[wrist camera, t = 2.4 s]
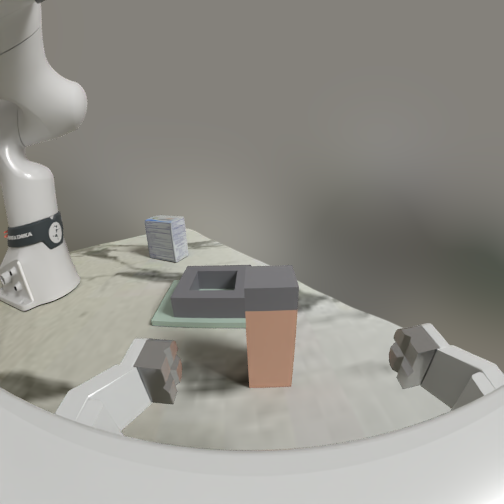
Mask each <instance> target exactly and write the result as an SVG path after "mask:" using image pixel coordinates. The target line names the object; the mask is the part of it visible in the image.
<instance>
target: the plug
mask: <svg viewBox="0 0 504 504" xmlns="http://www.w3.org/2000/svg"><path fill="white" fill-rule="evenodd" d="M298 291H299V286H298V283H297V280H296V276H295V273H294V270H293V267H292V265H287V266H246V270H245V283H244V298H245V318H246V337H247V355H248V373H249V388H264V387H288V386H291V383H292V373H293V362H294V350H295V338H296V324H297V309H298Z"/></svg>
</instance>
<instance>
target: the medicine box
mask: <svg viewBox="0 0 504 504" xmlns="http://www.w3.org/2000/svg"><path fill="white" fill-rule="evenodd" d="M145 228H146V235H147V241H148V248H149V253H150V257H151V258H156V259H161V260H166V261H172V262H178V261H180V260H182V259H183V258H185V257H187V256H188V255H189V254H188V247H187V239H186V231H185V222H184V217H178V216H160V215H158V216H155V217H151V218H149V219H147V220H145Z"/></svg>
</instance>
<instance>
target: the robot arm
mask: <svg viewBox="0 0 504 504" xmlns="http://www.w3.org/2000/svg"><path fill="white" fill-rule="evenodd" d="M43 1H45V0H0V184H1V188H2V192H3V197H4V203H5V208H6V213H7V218H8V223H9V227H8V230H7V231H5V232H4V233H7V232H8V234H7V235H6V236H4V237H8V246H9V248H8V250H7V253H6V255H5V257H4V259H3V261H2V263H1V266H0V279H1V282H2V285H3V287H2V288H1V289H0V300H1V301H3V302H5V303H7V304H9V305H11V306H13V307H15V308H17V309H20V310H22V311H26V310H29V309H31V308H33V307H35V306H38V305H41V304H44V303H48V302H51V301H54V300H56V299H58V298H60V297H62V296H64V295H66V294H68V293H69V292H71V291H72V290H73V289H74V288H75V287H76V286H77V285H78V284H79V282H80V276H79V274H78V272H77V270H76V268H75V265H74V264H73V262H72V259H71V257H70V254H69V251H68V248H67V245H66V242H65V239H64V237H63V224H62V218H61V215H60V212H59V211H58V208H57V202H56V193H55V185H54V177H53V174H52V172H51V171H50V170H49V169H48V168H47V167H46V166H44V165H41V164H38V163H35V162H31V161H29V160H28V159H27V157H26V153H25V147H27V146H29V145H33V144H36V143H40V142H44V141H48V140H52V139H56V138H58V137H61V136H63V135H65V134H68V133H70V132H72V131H75V130H77V129H78V127H79V126H80V125H81V123H82V121H83V119H84V117H85V115H86V111H87V97H86V94H85V91H84V90H83V88H82V87H81V86H80V85H79V84H78V83H77V82H73V81H70V80H68V79H66V78H64V77H62V76H61V75H59V74H58V73H57V72H56V71H55V70H54V69H53V68H52V67H51V66H50V64H49V63H48V61H47V59H46V56H45V52H44V46H43V38H42V15H41V2H43ZM394 340H395V343H394V344H393V345H392V346H391V348H390V352H389V362H390V366H391V368H392V370H394V371H396V372H397V373H398V375H397V379H398V381H399V383H400V385H401V387H402V389H406V388H410V387H414V386H418V385H421V386H422V387H423V388H424V389H426V390H427V391H428V392H430V393H431V394H432V395H434V396H435V397H437V398H438V399H439V400H441V401H442V402H443V403H445V404H446V405H448V406H449V407H450V408H452V409H451V411H450V412H447V413H445V414H442V415H440V416H437V417H434V418H432V419H429V420H426V421H423V422H421V423H418V424H415V425H411V426H408V427H405V428H402V429H398V430H395V431H391V432H388V433H384V434H380V435H376V436H372V437H367V438H363V439H358V440H353V441H347V442H342V443H336V444H329V445H322V446H314V447H305V448H294V449H280V450H220V449H205V448H194V447H185V446H177V445H170V444H163V443H157V442H152V441H146V440H141V439H136V438H132V437H127V436H124V435H123V433H122V432H121V430H122V429H123V428H125V427H126V426H127V425H128V424H129V423H130V422H131V421H133V420H134V419H135V418H136V417H137V416H138V415H139V414H140V413H142V412H143V411H144V410H145V409H146V408H147V407H148V406H149V405H150V404H152V403H151V402H153V403H163V404H174V401H175V398H176V394H177V388H176V385H177V384H178V383H180V381H181V377H182V363H181V359H180V358H179V357H178V356H177V355H176V353H177V351H178V348H177V344H176V342H175V341H173V340H160V339H148V338H135V339H134V340H133V342H132V344H131V346H130V347H129V349H128V351H127V352H126V354H125V356H124V358H123V359H122V361H121V363H120V365H117V364H116V365H114V366H112V367H111V368H109V369H107V370H105V371H104V372H102V373H100V374H98V375H97V376H95V377H93V378H91V379H89V380H88V381H86V382H84V383H82V384H81V385H79V386H77V387H75V388H73V389H72V390H70V391H68V393H67V394H66V396H65V398H64V399H63V401H62V402H61V404H60V406H59V407H58V409H57V411H56V412H55V414H54V413H52V412H49V411H47V410H45V409H42V408H40V407H38V406H36V405H33V404H31V403H29V402H27V401H25V400H23V399H21V398H19V397H17V396H15V395H13V394H11V393H9V392H8V391H6V390H4V389H2V388H1V387H0V504H504V374H503V373H502V372H501V371H500V369H499V368H498V367H497V366H496V364H494V363H492V362H489V361H487V360H485V359H483V358H480V357H478V356H476V355H474V354H471V353H469V352H467V351H465V350H462V349H460V348H458V347H456V346H453V345H451V346H450V345H449V344H448V343H447V342H446V341H445V339H444V338H443V337H442V336H441V335H440V333H439V332H438V331H437V330H436V329H435V328H434V326H433V325H432V324H430V323H427V324H422V325H418V326H414V327H408V328H402V329H397V331H396V332H395V335H394Z"/></svg>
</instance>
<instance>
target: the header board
mask: <svg viewBox="0 0 504 504" xmlns="http://www.w3.org/2000/svg"><path fill="white" fill-rule="evenodd" d="M246 266H251V265H225V266H188V267H187V268H186V270H185V272H184V274H183V275H182V277H181V279H180V280H174V282H173V283H172V285H171V287H170V288H169V290H168V292H167V294H166V295H165V297H164V299H163V301H162V302H161V304H160V306H159V308H158V309H157V311H156V313H155V315H154V316H153V318H152V320H151V322H152V326H168V327H195V328H246V318H245V298H244V283H245V270H246Z"/></svg>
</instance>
